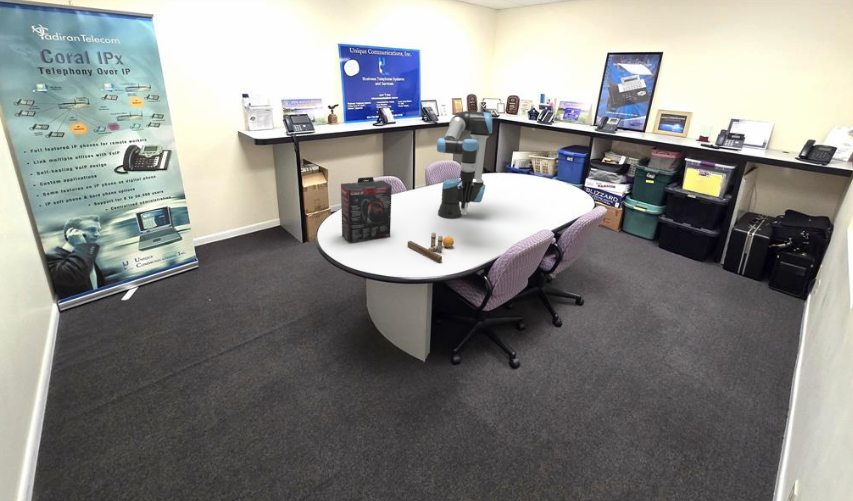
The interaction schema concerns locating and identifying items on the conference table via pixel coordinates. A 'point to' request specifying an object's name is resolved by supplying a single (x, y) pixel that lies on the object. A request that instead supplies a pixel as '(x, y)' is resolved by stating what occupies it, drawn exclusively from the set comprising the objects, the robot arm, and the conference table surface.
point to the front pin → (434, 248)
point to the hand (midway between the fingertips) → (463, 213)
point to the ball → (448, 241)
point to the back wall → (425, 251)
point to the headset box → (366, 210)
